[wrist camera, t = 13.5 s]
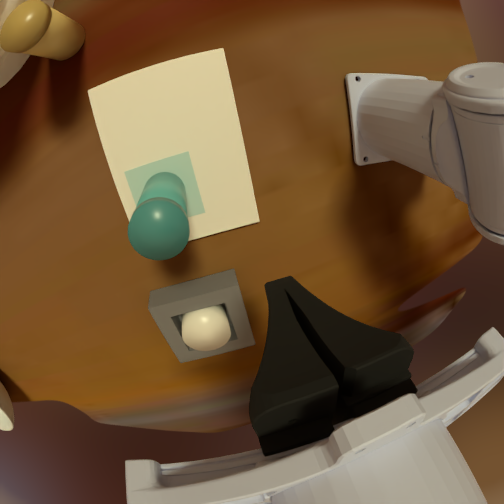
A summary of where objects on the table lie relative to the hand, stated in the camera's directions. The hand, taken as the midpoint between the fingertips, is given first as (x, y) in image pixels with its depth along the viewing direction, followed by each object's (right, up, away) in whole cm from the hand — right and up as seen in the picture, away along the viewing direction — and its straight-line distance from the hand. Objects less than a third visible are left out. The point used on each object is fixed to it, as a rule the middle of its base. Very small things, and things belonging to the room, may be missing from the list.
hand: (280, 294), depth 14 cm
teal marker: (-8, +7, +6) cm, 12 cm away
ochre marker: (-15, +18, -2) cm, 23 cm away
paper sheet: (-7, +9, +5) cm, 13 cm away
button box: (-6, -4, +13) cm, 15 cm away
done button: (-6, -4, +13) cm, 15 cm away
